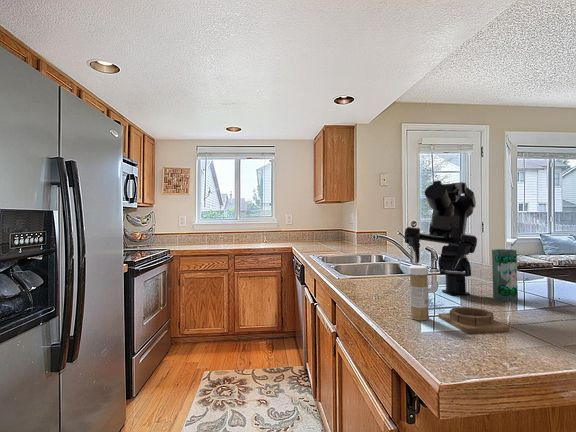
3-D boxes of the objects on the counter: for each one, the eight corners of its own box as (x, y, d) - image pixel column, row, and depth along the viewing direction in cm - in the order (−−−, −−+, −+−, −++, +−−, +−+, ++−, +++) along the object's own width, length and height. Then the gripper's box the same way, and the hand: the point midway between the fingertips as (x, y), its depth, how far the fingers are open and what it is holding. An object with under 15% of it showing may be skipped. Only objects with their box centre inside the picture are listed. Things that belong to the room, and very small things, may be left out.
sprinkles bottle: (419, 314, 90) (417, 264, 90) (433, 319, 86) (431, 266, 86) (406, 317, 88) (405, 266, 88) (420, 322, 84) (418, 268, 84)
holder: (438, 317, 87) (438, 306, 87) (475, 315, 88) (475, 304, 88) (466, 333, 75) (466, 320, 75) (509, 330, 76) (508, 318, 76)
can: (505, 302, 100) (503, 251, 100) (489, 297, 106) (487, 249, 106) (522, 300, 101) (521, 250, 101) (505, 296, 107) (504, 248, 107)
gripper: (409, 200, 98) (399, 246, 91) (482, 207, 90) (478, 259, 83) (409, 220, 107) (400, 264, 100) (475, 228, 99) (471, 277, 92)
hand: (435, 266), depth 93 cm, fingers open, 9 cm apart
